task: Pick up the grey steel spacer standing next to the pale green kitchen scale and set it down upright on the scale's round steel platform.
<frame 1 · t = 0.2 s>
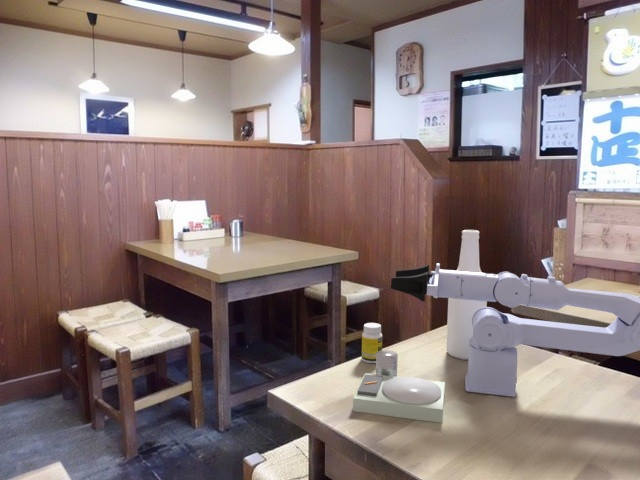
hand: (393, 279, 107), 21 cm above the table, tool horizontal, fingers open, 7 cm apart
spacer: (386, 381, 107), on the table
supplement bottle: (371, 360, 119), on the table
scale: (400, 402, 98), on the table
alcohol: (464, 354, 123), on the table
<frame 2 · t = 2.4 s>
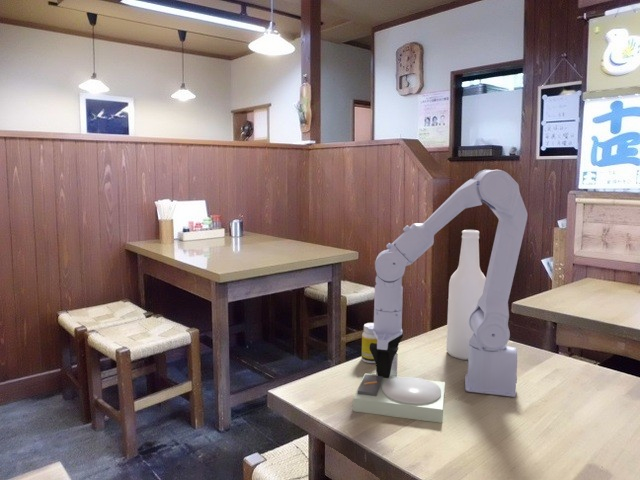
hand: (386, 371, 107), 2 cm above the table, tool pointing down, fingers open, 7 cm apart
nothing on the table moved.
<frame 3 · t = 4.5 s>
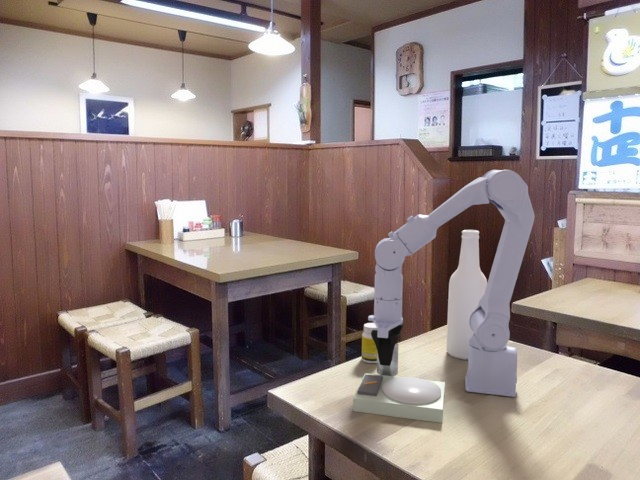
hand: (387, 360, 107), 5 cm above the table, tool pointing down, fingers closed on spacer, 4 cm apart
spacer: (387, 372, 107), point 2 cm above the table, touching gripper
everything else where it was.
when the fingers open (6 cm above the table, at t = 7.5 s): spacer stays where it is, resting on scale.
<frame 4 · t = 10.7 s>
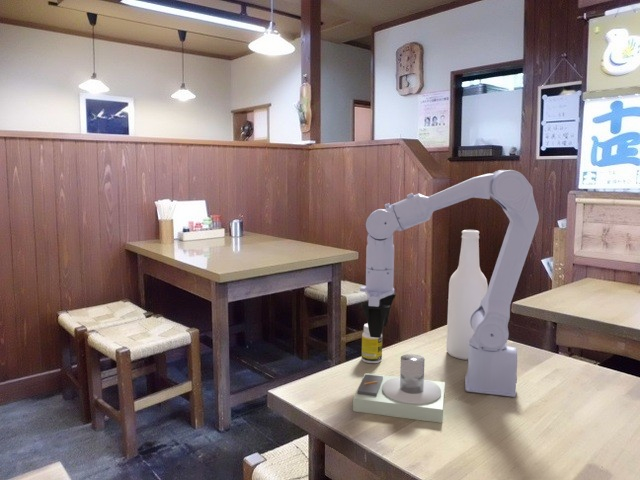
hand: (378, 331, 107), 10 cm above the table, tool pointing down, fingers open, 7 cm apart
spacer: (411, 388, 97), point 3 cm above the table, touching scale
everything else where it was.
at the end: spacer inside the target area on the scale (0.0 cm from its centre), point 3.0 cm above the scale's base; spacer tilted 0°; the gripper is holding nothing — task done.
